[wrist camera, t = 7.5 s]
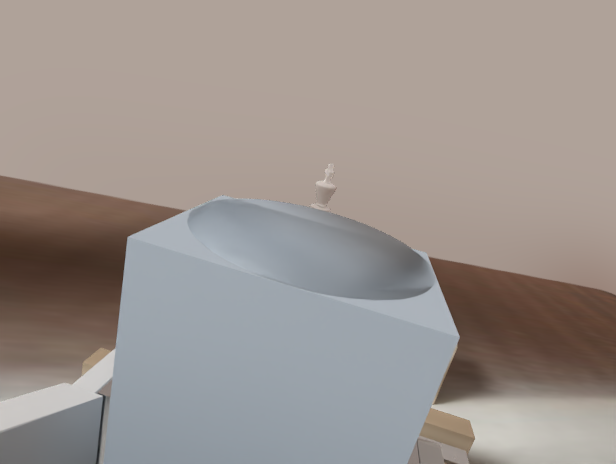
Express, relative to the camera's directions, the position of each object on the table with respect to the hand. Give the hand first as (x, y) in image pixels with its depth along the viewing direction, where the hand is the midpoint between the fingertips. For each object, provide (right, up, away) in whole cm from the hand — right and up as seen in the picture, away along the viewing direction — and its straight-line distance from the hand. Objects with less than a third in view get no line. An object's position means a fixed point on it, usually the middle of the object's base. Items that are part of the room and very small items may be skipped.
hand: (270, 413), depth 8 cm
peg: (-1, -5, +1) cm, 6 cm away
